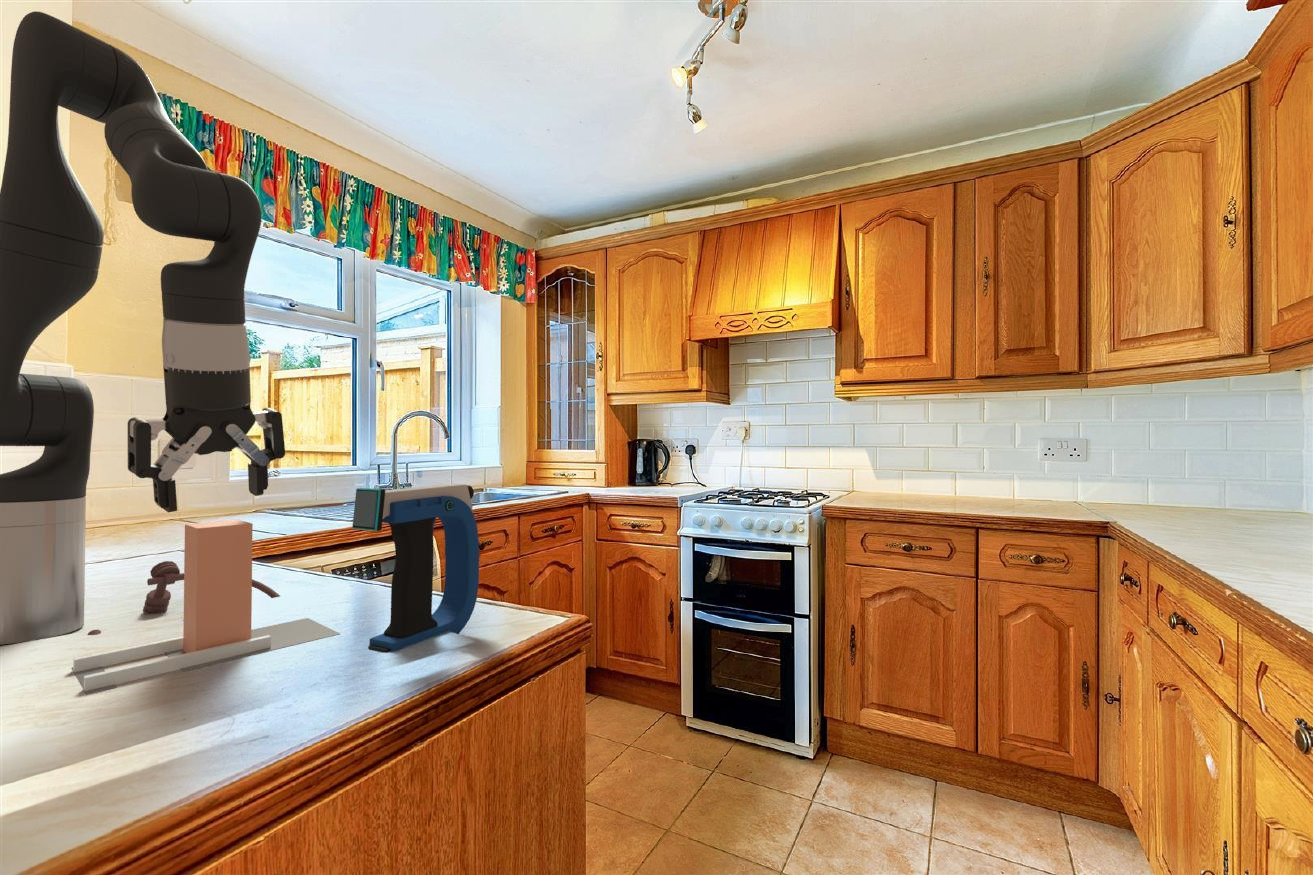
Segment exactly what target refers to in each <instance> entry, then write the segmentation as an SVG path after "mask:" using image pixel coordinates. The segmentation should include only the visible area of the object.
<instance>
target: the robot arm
mask: <svg viewBox="0 0 1313 875" xmlns="http://www.w3.org/2000/svg"><path fill="white" fill-rule="evenodd" d="M12 45H13V46H12V55H11V67H10V68H11V70H10V86H9V87H10V88H9V89H10V90H9V91H10V92H9V111H8V112H9V114H8V115H9V116H8V131H7V132H8V134H7V135H8V136H7V146H6V147H7V148H6V154H5V161H4V168H3V173H2V180H1V185H0V447H44V448H43V452H42V455H41V456H40V457H39V458H38V459H36V460H35V461H33V462H31V463H29V464H27V465H25V466H23V467H20V468H18V469H17V468H16V469H14V470H11V471H8V472H4V473H0V645H7V644H8V645H10V644H19V643H26V642H33V641H38V640H44V639H49V638H52V637H58V636H61V635H65V634H69V633H71V632H74V631H77V630H78V629H81V628H83V627H84V625H85V596H86V595H85V593H86V592H85V591H86V590H85V589H86V587H85V586H86V584H85V583H86V582H85V581H86V526H87V525H86V523H87V522H86V521H87V519H86V506H87V505H86V503H87V502H86V500H87V484H88V480H89V475H90V469H91V468H90V467H91V449H92V448H91V447H92V440H93V428H94V416H95V409H94V399H93V394H92V392H91V390H90V388H89V386H88V385H87V384H86V382H84V381H83V380H81V379H77V378H73V377H67V376H58V375H57V376H55V375H44V374H31V373H21V369H22V366H23V363H24V362H25V358H26V356H27V355H28V352H29V351H30V348H31V346H32V345H33V343H34V342H35V341H36V339H37V338H38V337H39V336H40V335H41V333H42V332H43V331H44V330H46V328H48V327H49V326H50V325H51V324H53V323H54V321H56V320H57V319H58V318H60V317H61V316H63V315H64V313H66V312H68V310H69V309H71V308H72V307H74V305H76V304H77V303H79V301H81V300H82V299H83V298H84V297H85V296H86V295H87V294H88V293H89V292H90V291H91V290H92V288H93V287H94V286H95V284H96V282H97V281H98V280H97V279H98V276H99V269H100V264H101V263H100V262H101V258H102V252H103V251H102V250H103V246H104V238H105V236H104V228H103V224H102V223H101V220H100V218H99V215H98V213H97V211H96V209H95V207H94V205H93V204H92V201H91V200H90V197H89V196H88V194H87V193H86V191H85V190H84V187H83V186H82V184H81V183H80V181H79V179H78V177H77V176H76V175H77V174H76V173H75V172H74V170H73V167H72V165H71V164H70V162H69V159H68V158H67V155H66V153H65V152H66V151H65V150H64V147H63V144H62V137H61V132H60V126H59V107H61V108H64V109H65V110H68V111H70V112H74V113H76V114H78V115H81V116H82V117H83V116H84V117H86V118H89V119H90V120H93V121H96V122H99V123H102V124H104V131H103V132H104V139H105V142H106V145H107V147H108V150H109V151H110V154H111V155H112V156H113V158H114V159H115V160H116V162H117V163H118V164H119V166H121V168H122V169H123V170H124V171H125V173H126V174H127V175H128V177H129V180H130V183H131V184H130V185H131V200H132V201H131V202H132V206H133V210H134V212H135V214H136V215H137V218H138V219H139V220H140V221H141V222H142V223H143V224H145V225H146V226H147V227H149V228H150V229H152V230H154V231H155V232H158V233H160V234H163V235H167V236H173V237H176V238H177V237H179V238H185V239H193V240H201V241H209V242H214V243H213V246H212V249H211V251H210V252H209V253H208V255H207V256H206V257H204V258H202V259H197V260H188V261H176V262H170V263H167V264H165V265H164V266H163V267H162V268H161V271H160V291H161V301H162V302H161V304H162V316H163V319H162V324H163V325H162V331H161V332H162V333H161V349H162V350H161V351H162V352H161V353H162V354H161V355H162V364H163V369H162V370H163V381H164V393H165V394H164V395H165V396H164V397H165V407H166V411H165V415H164V416H163V417H162V419H161V418H160V419H143V418H139V417H131V418H129V419H128V421H127V470H128V471H129V472H130V473H132V474H134V475H135V476H136V477H138V478H139V479H145V478H146V479H152V485H153V486H152V487H153V501H154V503H155V504H156V506H158V507H159V508H161V509H162V510H164V511H166V512H167V513H168V514H169V513H173V512H177V511H178V501H177V500H178V499H177V488H176V486H177V485H176V484H177V483H176V479H174V478H173V476H174V475H175V474H176V473H177V471H178V470H179V469H180V468H181V466H183V465H184V464H186V463H187V462H188V461H189V460H190V459H191V458H192V456H193V455H194V454H196V455H198V456H203V455H205V456H206V455H209V454H212V453H215V452H219V453H220V452H221V453H228V452H229V453H230V452H232V451H233V450H234V449H237V450H239V451H240V452H241V453H242V454H243V455H244V456H245V457H246V458H247V459H248V460H250V462H248V463H247V473H248V474H247V475H248V476H247V479H248V491H249V493H250V494H251V495H253V496H255V497H257V496H258V497H259V496H263V495H264V493H265V492H264V491H266V490H268V487H269V468H268V467H269V464H270V463H271V462H273V461H274V460H277V459H278V460H279V459H283V458H285V456H286V446H285V436H284V434H285V433H284V425H283V416H282V415H283V414H282V413H281V412H280V411H277V410H275V409H273V408H270V407H264V408H262V409H261V410H259V411H252V408H251V402H252V395H251V391H252V390H251V366H250V363H251V358H252V357H251V354H250V343H249V338H248V333H247V325H246V306H245V286H246V281H247V276H248V271H249V267H250V262H251V259H252V256H253V253H254V252H253V251H254V249H255V246H256V244H257V239H258V236H259V234H260V230H261V226H262V217H263V216H262V215H263V213H262V212H263V211H262V206H261V203H260V200H259V198H258V196H257V193H256V192H255V191H254V188H252V186H251V185H250V184H249V183H248V182H246V181H245V180H243V179H242V178H240V177H237V176H234V175H231V174H227V173H222V172H218V171H211V170H209V169H208V166H207V163H206V162H205V160H204V158H203V157H202V155H201V154H200V152H199V151H198V150H197V149H196V148H195V146H193V144H192V143H191V142H190V141H189V140H188V139H187V138H186V137H185V135H183V134H182V133H181V131H180V130H179V129H178V128H177V126H175V124H174V123H173V122H172V121H171V119H170V118H169V115H168V114H167V111H166V110H165V108H164V105H163V103H162V101H161V99H160V97H159V95H158V93H157V91H156V89H155V87H154V85H153V83H152V82H151V79H150V78H149V75H148V73H147V72H146V71H145V70H144V68H143V67H142V66H141V65H140V64H139V63H138V61H137V60H135V59H134V58H133V57H132V56H131V55H129V54H127V53H126V52H125V51H123V50H121V49H119V48H118V47H116V46H114V45H112V44H110V43H107V42H106V41H103V40H101V39H100V38H97V37H95V36H93V35H91V33H90V34H89V33H87V32H85V31H83V30H82V29H79V28H77V27H75V26H73V25H71V24H69V23H67V22H65V21H63V20H61V19H59V18H57V17H54V16H52V15H50V14H48V13H45V12H43V11H38V10H37V11H31V12H29V13H27V14H26V15H24V17H22V20H21V21H20V22H19V24H18V27H17V30H16V32H15V36H14V40H13V44H12ZM255 423H257V425H258V426H259V427H260V428H262V434H263V444H264V448H263V449H260V447H259V446H258V445H257V444H255V443H254V442H253V441H252V439H251V438H249V436H248V435H247V434H248V433H249V432H250V430H251V429H252V427H253V426H254V425H255ZM162 431H165V432H166V433H167V434H168V435H169V436H171V439H170V440H169V442H167V444H166V445H165V447H164V448H163V449H162V451H161V455H159V457H158V458H157V459H156V460H155V462H154V463H152V441H155V440H156V439H157V438H158V437H159V433H161V432H162Z"/></svg>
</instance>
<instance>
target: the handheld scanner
mask: <svg viewBox="0 0 1313 875" xmlns="http://www.w3.org/2000/svg"><path fill="white" fill-rule="evenodd" d="M474 493H475V491H474V488H473V486H472V485H470V484H469V485H468V484H464V483H461V484H460V483H450V484H436V485H427V486H426V485H425V486H417V487H407V488H406V487H405V488H396V489H385V488H368V487H367V488H365V487H363V488H362V487H358V488H356V489H355V496H354V497H355V498H354V507H353V515H352V516H353V517H352V529H353V530H361V531H362V530H363V531H371V532H372V531H373V532H379V531H382V530H383V529H382V527H383V524H388V525H389V527H390V533H391V537H392V539H393V543H394V549H395V552H394V553H395V560H394V569H393V573H392V576H391V577H392V578H391V588H390V589H391V591H390V592H391V593H390V623H389V625H388V626H387V627H386V629H384V632H383V633H381V634H378V635H376V636H373V637H372V636H371V637H370V638H369V642H368V643H369V645H368V646H367V648H368V650H369V651H373V652H379V653H388V652H393V653H394V652H397V651H400V650H403V649H405V648H407V647H410V646H413V645H415V644H419V643H422V642H423V641H426V640H427V641H428V640H429V639H431V638H434V637H436V636H440V635H442V634H445V633H447V632H451V633H454V634H456V635H459V634H460V633H461V632H462V631H463V629H464V628H465V627H466V625H467V623H468V622H469V621H470V619H471V618H472V615H473V612H474V610H475V606H476V603H477V600H478V599H477V598H478V592H479V584H480V581H479V580H480V546H479V545H480V541H479V531H478V525H477V520H476V517H475V514H474V511H473V510H474V509H473V503H472V501H471V500H472V498H474ZM437 518H438V519H439V520H440V522H441V524H442V528H443V532H444V550H445V551H444V552H445V553H444V557H445V558H444V559H445V560H444V561H445V562H444V564H445V565H444V566H445V568H444V573H445V575H444V588H443V594H442V598H441V601H440V603H439V605H438V606H437V608H436V610H435V611H432V610H433V607H432V606H433V581H434V580H433V579H434V527H435V522H436V521H437ZM432 612H433V613H432Z"/></svg>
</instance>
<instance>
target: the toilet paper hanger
mask: <svg viewBox="0 0 1313 875" xmlns="http://www.w3.org/2000/svg"><path fill="white" fill-rule="evenodd" d="M149 571H150V572H149V573H150V576H151V578H147V581H146V583H147V586H154V585H156V587H155V589H153V590H150V591H149V592H148V593H147V594H146V597H145V601H144V605H143V608H142V613H143V614H144V615H146V616H147V615H157V614H161V613H166V612H167V611H168V608H169V606H170V600H171V599H172V598H171V597H172V593H171V592H170V591H169V590H168V589H167V586H168V585H174V584H175V583H176V582H178V581H179V582H180V581H184V572H183V573H181V571H180V568H179V566H178V565H177V563H175V562H174V561H172V560H166V561H165V560H164V561H161V562H158V563H156V565H154V566H152V568H151V569H150V570H149ZM252 588H255V589H256V590H259V591H261V592H262V593H264V594H266V595H267V596H268V597H270V599H275V598H280V597H282V596H281V595H280V594H279V593H277V592H276V591H275V590H274V589H273V588H271V587H269V586H267V585H266V584H264V583H262V582H261V581H258V580H255V579H253V578H252ZM100 634H102V631H101V630H100V629H93V630H92V629H91V631H89V632H88V633H87V635H88V636H97V635H100Z"/></svg>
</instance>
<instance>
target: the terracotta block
mask: <svg viewBox="0 0 1313 875" xmlns="http://www.w3.org/2000/svg"><path fill="white" fill-rule="evenodd" d="M253 525H254V524H253V523H252V522H248V521H245V520H244V521H243V520H240V519H232V520H221V521H220V520H219V521H218V520H217V521H207V522H206V521H205V522H194V523H185V524H184V553H183V554H184V559H183V560H184V563H183V564H184V568H183V569H184V572H183V573H184V580H183V632H182V634H183V635H182V636H183V651H185V652H186V653H190V652H195V651H199V650H204V649H208V648H213V647H217V646H222V645H226V644H231V643H235V642H240V641H244V640H249V639H251V630H252V607H253V606H252V604H253V603H252V601H253V600H252V599H253V598H252V596H253V590H252V589H253V587H252V579H253Z"/></svg>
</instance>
